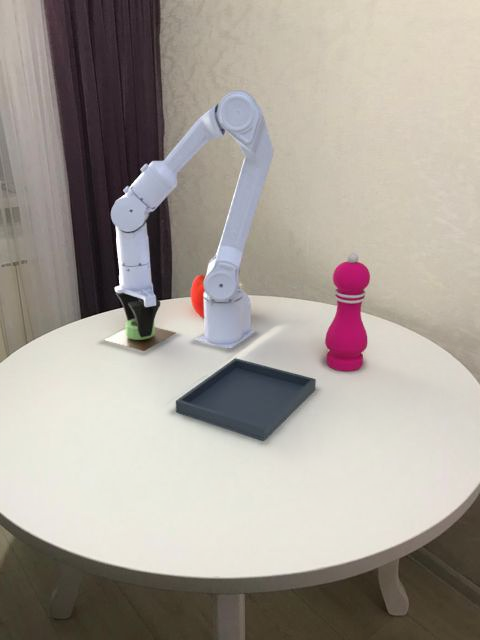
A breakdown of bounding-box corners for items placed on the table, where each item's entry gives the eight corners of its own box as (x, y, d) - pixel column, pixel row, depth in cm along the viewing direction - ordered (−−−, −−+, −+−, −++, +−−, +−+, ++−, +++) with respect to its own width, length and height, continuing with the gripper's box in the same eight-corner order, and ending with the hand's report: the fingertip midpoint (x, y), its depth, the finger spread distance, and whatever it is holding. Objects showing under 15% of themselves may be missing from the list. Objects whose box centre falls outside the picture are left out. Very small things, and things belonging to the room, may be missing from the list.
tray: (235, 368, 103) (235, 357, 102) (315, 389, 95) (315, 378, 94) (176, 412, 89) (175, 400, 88) (263, 441, 82) (264, 429, 81)
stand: (137, 325, 121) (135, 304, 119) (176, 335, 116) (175, 314, 114) (103, 342, 113) (101, 321, 111) (144, 354, 108) (142, 331, 106)
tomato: (181, 315, 126) (179, 276, 122) (219, 302, 132) (219, 265, 129) (213, 329, 118) (212, 288, 115) (252, 315, 125) (252, 276, 121)
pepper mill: (363, 355, 107) (373, 247, 98) (367, 373, 100) (378, 259, 92) (322, 354, 107) (329, 246, 99) (324, 372, 101) (332, 258, 92)
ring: (138, 326, 117) (137, 315, 116) (160, 332, 115) (159, 320, 114) (120, 336, 113) (119, 324, 112) (142, 342, 111) (141, 330, 110)
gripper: (101, 255, 112) (108, 321, 118) (126, 275, 100) (133, 348, 106) (136, 250, 115) (141, 315, 121) (164, 269, 103) (169, 340, 109)
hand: (140, 330), depth 114 cm, fingers closed on ring, 5 cm apart
